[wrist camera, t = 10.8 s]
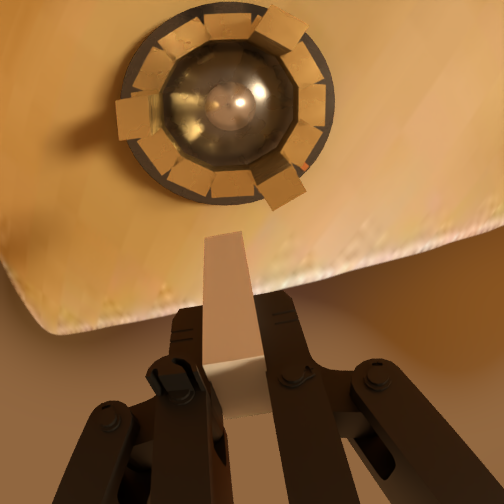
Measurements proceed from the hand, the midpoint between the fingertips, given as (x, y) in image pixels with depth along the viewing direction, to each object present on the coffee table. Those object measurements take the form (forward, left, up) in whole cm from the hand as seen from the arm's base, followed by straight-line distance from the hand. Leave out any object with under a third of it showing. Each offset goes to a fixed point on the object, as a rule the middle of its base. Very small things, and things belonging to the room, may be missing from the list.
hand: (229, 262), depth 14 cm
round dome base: (-4, +4, -18) cm, 19 cm away
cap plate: (-4, +4, -20) cm, 21 cm away
